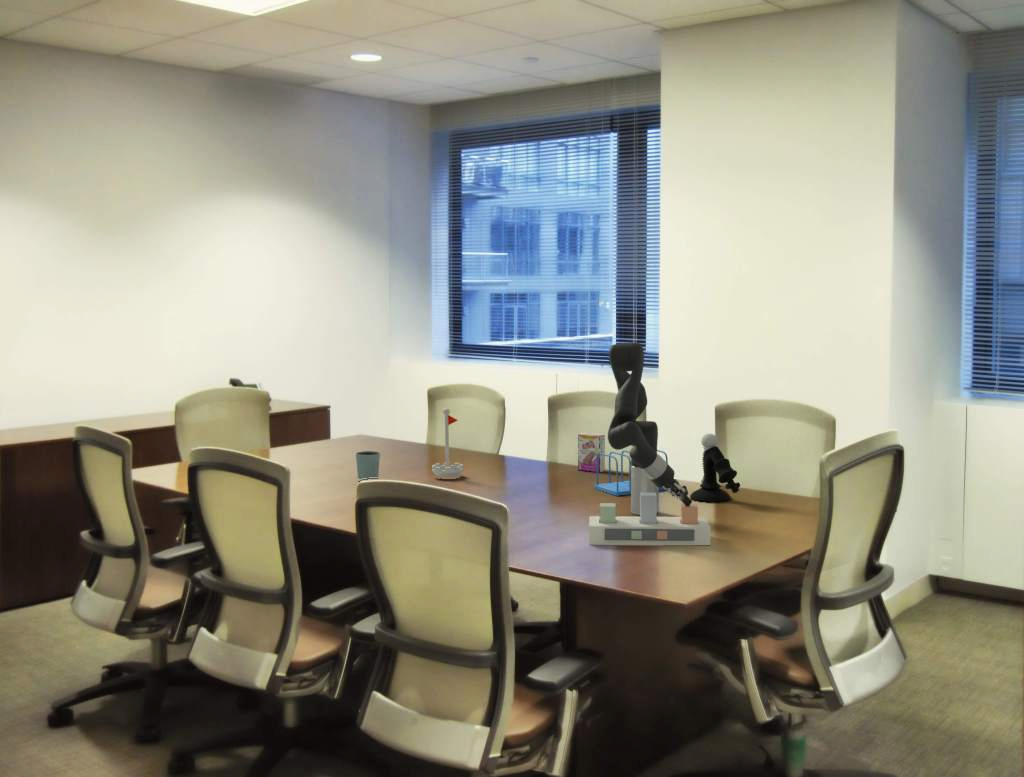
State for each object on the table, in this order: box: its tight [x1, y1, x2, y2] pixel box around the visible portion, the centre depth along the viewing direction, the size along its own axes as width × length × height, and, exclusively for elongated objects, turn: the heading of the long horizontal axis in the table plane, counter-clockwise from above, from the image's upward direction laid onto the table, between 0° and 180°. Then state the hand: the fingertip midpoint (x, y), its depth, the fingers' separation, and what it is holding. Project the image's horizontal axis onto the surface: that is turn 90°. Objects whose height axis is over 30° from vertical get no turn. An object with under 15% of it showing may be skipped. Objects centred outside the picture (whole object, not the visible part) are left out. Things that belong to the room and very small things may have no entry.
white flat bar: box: [588, 515, 711, 546], centre depth 334 cm, size 38×15×6 cm, turn 85°
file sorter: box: [594, 449, 669, 497], centre depth 415 cm, size 25×17×15 cm
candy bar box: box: [577, 432, 606, 474], centre depth 455 cm, size 11×5×16 cm, turn 58°
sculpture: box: [689, 433, 741, 504], centre depth 390 cm, size 15×24×25 cm, turn 27°
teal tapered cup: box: [355, 450, 381, 481], centre depth 440 cm, size 10×10×12 cm
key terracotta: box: [680, 503, 699, 524], centre depth 333 cm, size 5×5×10 cm
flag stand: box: [431, 407, 464, 477], centre depth 444 cm, size 13×13×30 cm
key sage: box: [599, 502, 617, 523], centre depth 335 cm, size 5×5×10 cm
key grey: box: [639, 492, 658, 524], centre depth 334 cm, size 5×5×10 cm
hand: (689, 503), depth 332 cm, fingers closed
